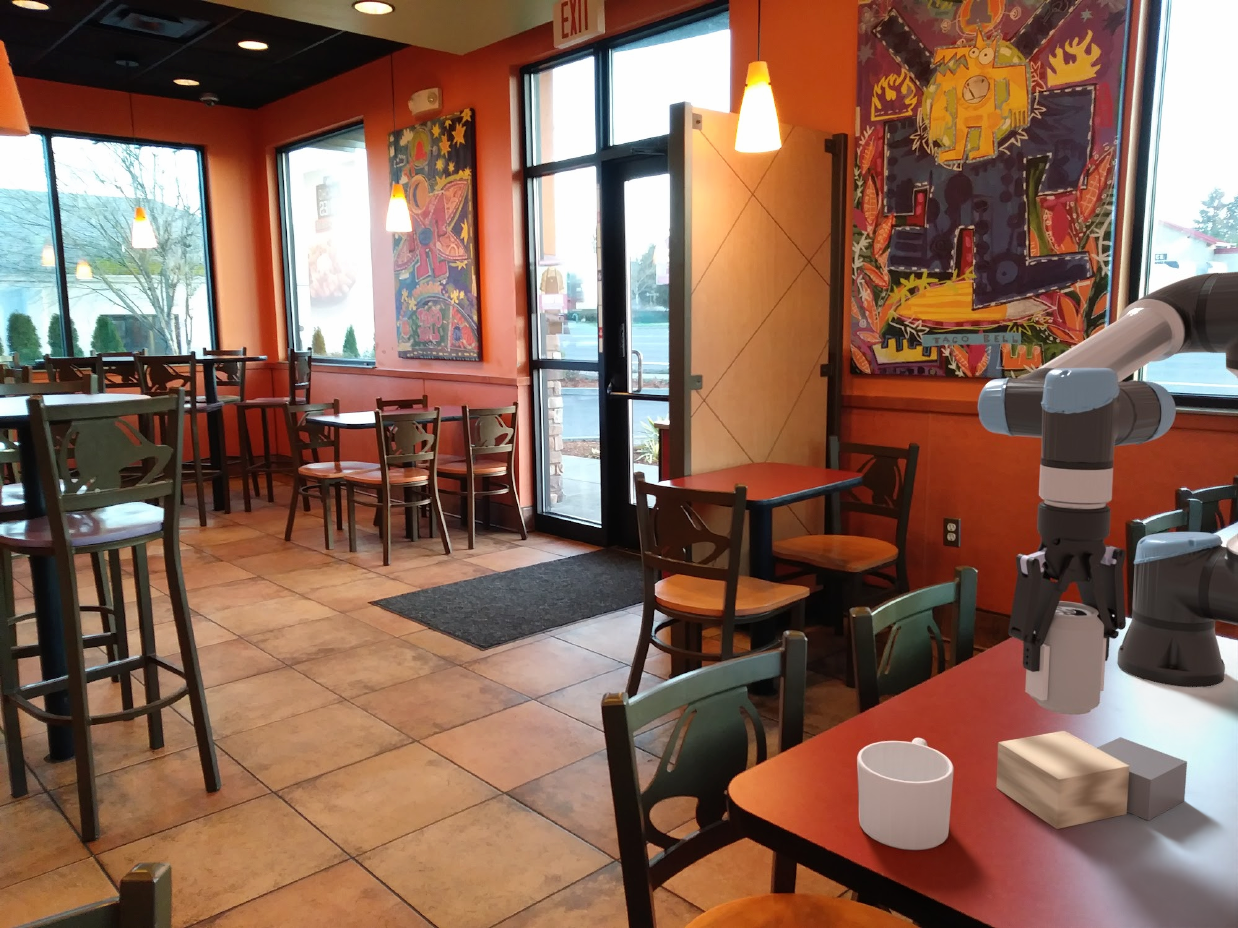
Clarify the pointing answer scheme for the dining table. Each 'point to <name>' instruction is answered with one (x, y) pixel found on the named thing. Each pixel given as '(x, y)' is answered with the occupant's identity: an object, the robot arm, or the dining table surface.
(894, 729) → the dining table surface
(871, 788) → the mug
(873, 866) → the dining table surface
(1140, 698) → the dining table surface
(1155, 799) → the slate block
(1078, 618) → the can
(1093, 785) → the birch block
